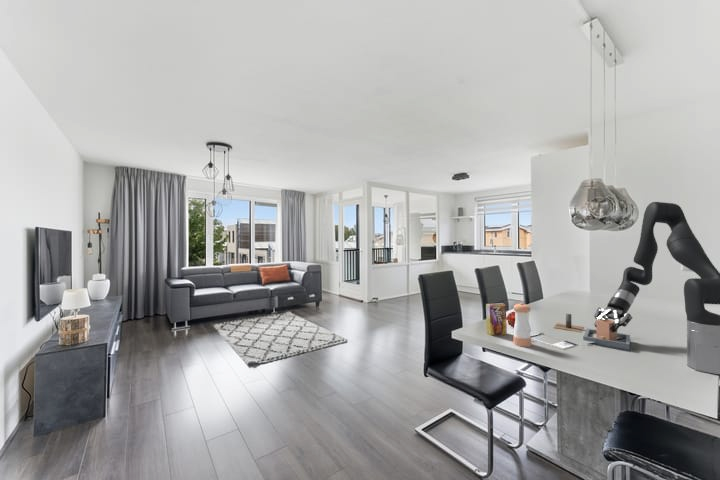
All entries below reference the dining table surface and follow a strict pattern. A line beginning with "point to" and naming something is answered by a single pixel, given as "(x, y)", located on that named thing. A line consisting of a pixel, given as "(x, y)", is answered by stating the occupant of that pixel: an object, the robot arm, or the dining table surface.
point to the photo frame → (559, 345)
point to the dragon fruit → (511, 318)
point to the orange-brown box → (606, 330)
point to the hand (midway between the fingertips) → (604, 328)
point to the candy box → (496, 319)
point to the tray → (609, 341)
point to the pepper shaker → (522, 325)
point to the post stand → (568, 325)
